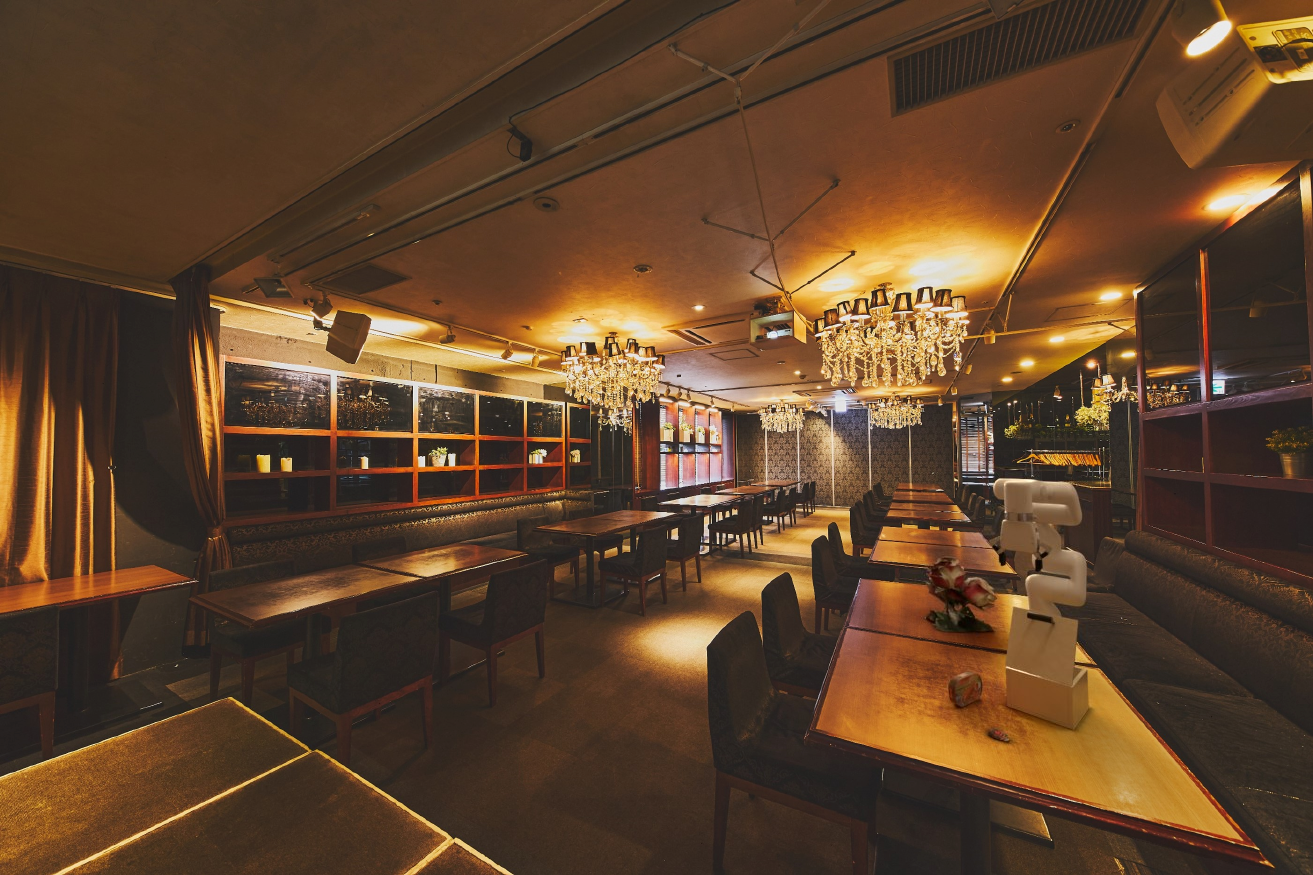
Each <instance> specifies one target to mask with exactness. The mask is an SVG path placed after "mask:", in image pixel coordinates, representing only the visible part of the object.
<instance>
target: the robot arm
mask: <svg viewBox="0 0 1313 875" xmlns="http://www.w3.org/2000/svg"><path fill="white" fill-rule="evenodd" d="M992 491H993V494H994V496H995V497H996V499H998V500H1004V519H1003V520H1002V521H1001V526H1000V528H1001V529H1000V536H996V537H994V538H991V539H989V540H988V542H989V544H990V545H991V548H992V549H993V550H994V551H995V552H996V554H998V563H999V564H1000V567H1005V566H1006V565H1007V554H1006V553H1005V552H1006V551H1013V552H1020V553H1028V554H1031V563H1032V566H1033V568H1034V569H1035V572H1036V573H1039V572H1043V573H1048V574H1054V575H1060V576H1067V577H1069V578H1066V577H1059V576H1053V575H1046V574H1030V575H1028V576H1027V577H1026V578H1025V583H1024V585H1025V590H1026V595H1027V599H1028V610H1032V611H1037V612H1041V613H1046V614H1051V615H1055V616H1060V617H1062V614H1061V611H1060V610H1059V608H1058V607H1057V605H1056V604H1059V605H1060V604H1061V605H1065V606H1070V607H1071V606H1072V607H1083V606H1084V605H1085V604H1086V600H1087V581H1088V580H1087V579H1088V578H1087V576H1088V574H1087V572H1088V569H1087V568H1088V566H1087V565H1088V564H1087V560H1086V557H1085V556H1084V554H1083V553H1081V552H1079V551H1075V550H1070V549H1069V550H1068V549H1062V537H1061V534H1059V532H1058V531H1057V530H1056V529H1055V528H1054V527H1053V526H1052V525H1058V526H1070V527H1074V526H1078V525H1080V524H1081V523H1082V520H1083V513H1082V507H1081V503H1080V499H1079V495H1078V492H1077V490H1076V488H1075V487H1074V486H1073V484H1071V483H1069V482H1065V481H1064V482H1063V481H1043V480H1037V479H1028V478H1027V479H1024V478H1023V479H1022V478H998V479H997V480H995V482H994V484H993V490H992ZM997 542H999V544H1000V547H999V545H998V544H997Z"/></svg>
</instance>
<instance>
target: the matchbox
mask: <svg viewBox="0 0 1313 875" xmlns="http://www.w3.org/2000/svg"><path fill="white" fill-rule="evenodd" d="M987 734H988V735H989V736H990V737H992V738H995V739H997V740H1000V741H1001V740H1002V741H1003V742H1009V741H1010V738H1009V737H1010V735H1009V734H1008V733H1006V732H1004V731H1002V730H999V729H997V728H992V729H991V730H988V733H987Z"/></svg>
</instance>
